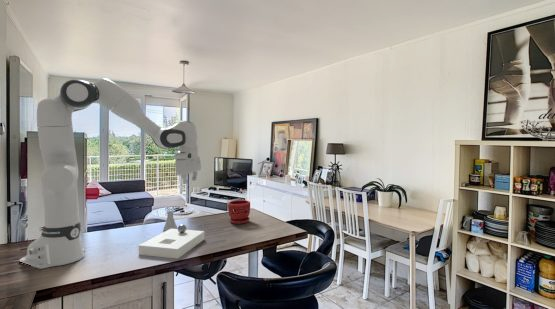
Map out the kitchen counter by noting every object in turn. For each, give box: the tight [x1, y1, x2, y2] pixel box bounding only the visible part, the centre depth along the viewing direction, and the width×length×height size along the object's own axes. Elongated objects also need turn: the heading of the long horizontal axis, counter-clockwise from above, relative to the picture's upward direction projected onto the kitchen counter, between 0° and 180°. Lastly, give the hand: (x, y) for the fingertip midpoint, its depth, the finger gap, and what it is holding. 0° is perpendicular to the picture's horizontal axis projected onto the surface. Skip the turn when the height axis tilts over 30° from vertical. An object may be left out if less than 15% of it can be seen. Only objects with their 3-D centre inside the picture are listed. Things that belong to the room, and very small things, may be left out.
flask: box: [162, 210, 178, 232], centre depth 157 cm, size 7×7×10 cm
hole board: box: [138, 229, 205, 259], centre depth 133 cm, size 18×24×4 cm
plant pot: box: [227, 199, 251, 225], centre depth 174 cm, size 13×13×12 cm
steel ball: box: [177, 224, 187, 233], centre depth 140 cm, size 4×4×4 cm
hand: (190, 181), depth 146 cm, fingers open, 8 cm apart
